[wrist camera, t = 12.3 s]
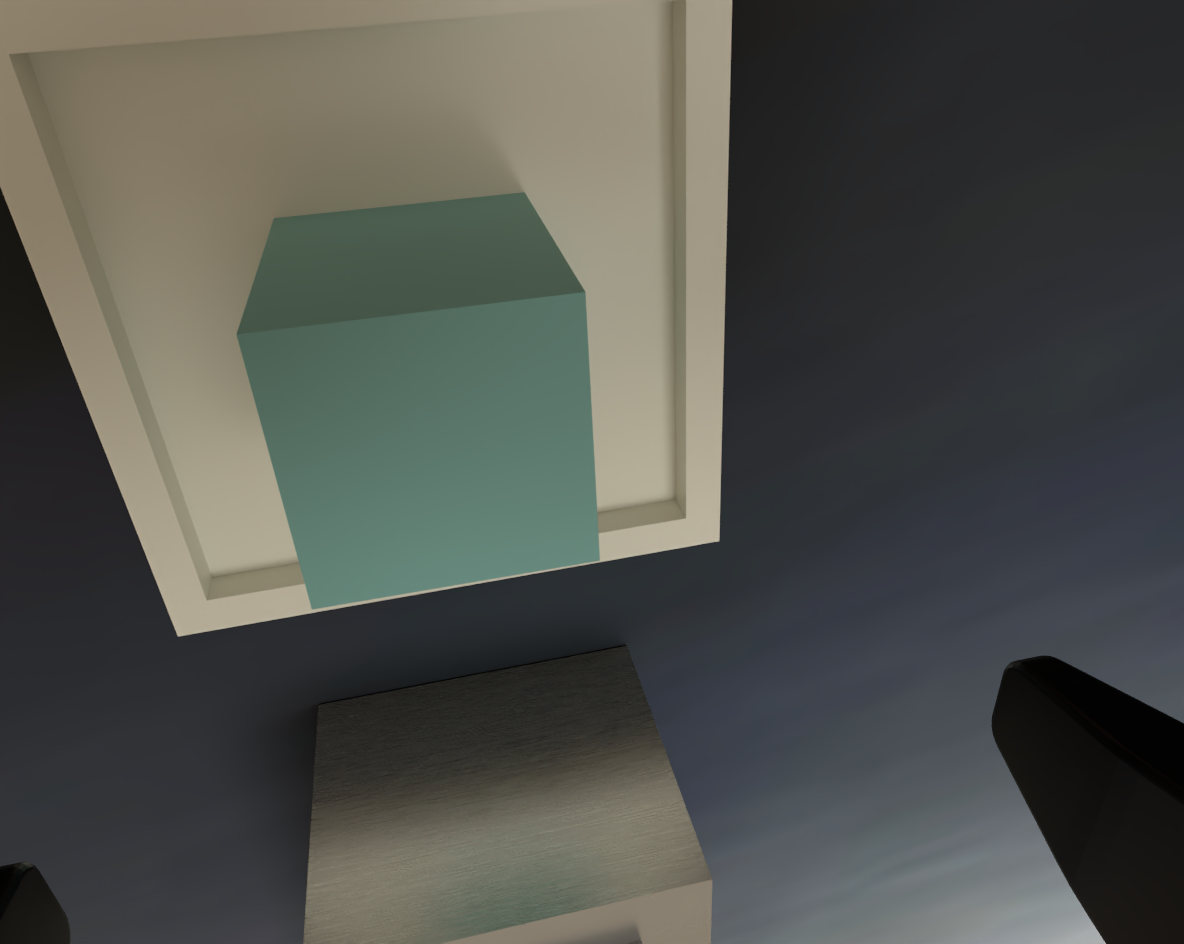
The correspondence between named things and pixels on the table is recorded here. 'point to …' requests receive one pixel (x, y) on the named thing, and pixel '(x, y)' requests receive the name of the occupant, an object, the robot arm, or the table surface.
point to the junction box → (503, 814)
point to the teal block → (423, 395)
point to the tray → (350, 182)
